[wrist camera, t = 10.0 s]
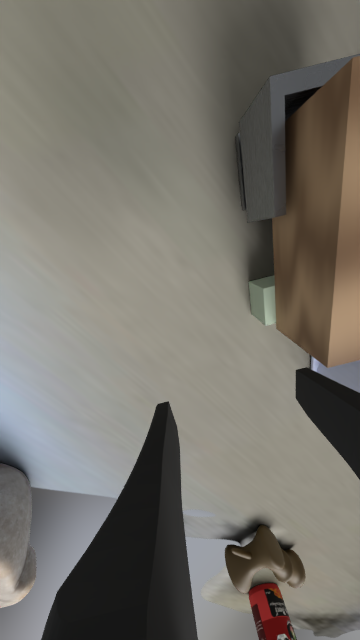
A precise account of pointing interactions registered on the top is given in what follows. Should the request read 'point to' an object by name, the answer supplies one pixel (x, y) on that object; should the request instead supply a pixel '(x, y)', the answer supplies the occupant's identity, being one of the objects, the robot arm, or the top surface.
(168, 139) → the top surface
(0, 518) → the mortar
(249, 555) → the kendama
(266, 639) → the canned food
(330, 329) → the walnut rail
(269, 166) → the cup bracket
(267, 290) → the block
